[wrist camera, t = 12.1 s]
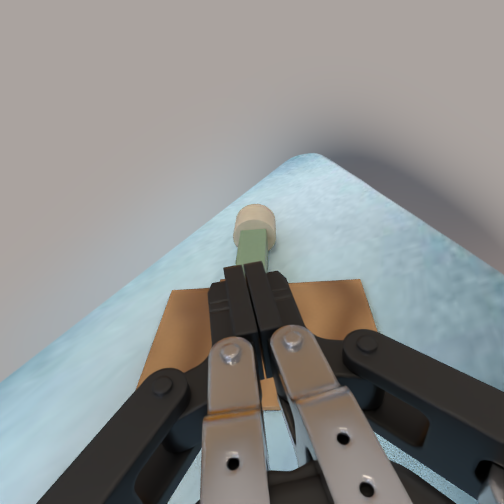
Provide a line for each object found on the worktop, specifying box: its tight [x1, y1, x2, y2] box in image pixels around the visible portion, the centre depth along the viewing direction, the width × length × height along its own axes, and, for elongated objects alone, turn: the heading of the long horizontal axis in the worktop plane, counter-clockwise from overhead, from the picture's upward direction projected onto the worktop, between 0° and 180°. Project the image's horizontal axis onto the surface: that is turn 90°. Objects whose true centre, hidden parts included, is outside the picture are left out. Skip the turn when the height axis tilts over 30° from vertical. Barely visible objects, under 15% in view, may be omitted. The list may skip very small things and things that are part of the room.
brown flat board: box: [135, 279, 378, 411], centre depth 32 cm, size 20×14×1 cm
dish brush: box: [220, 204, 276, 282], centre depth 38 cm, size 5×5×16 cm
